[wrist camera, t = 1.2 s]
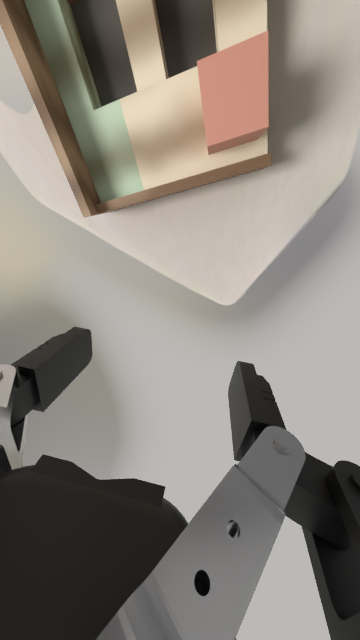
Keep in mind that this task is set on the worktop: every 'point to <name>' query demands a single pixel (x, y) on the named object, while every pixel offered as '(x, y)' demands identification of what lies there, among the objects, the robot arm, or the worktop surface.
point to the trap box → (130, 91)
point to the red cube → (235, 93)
